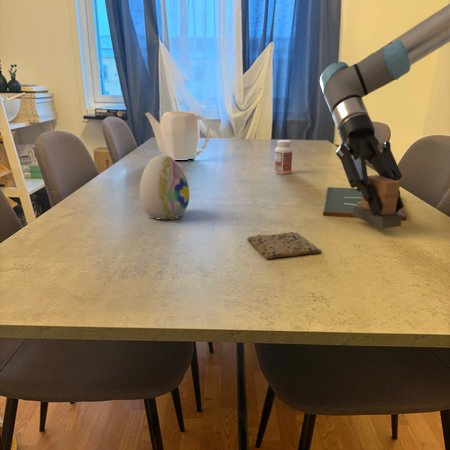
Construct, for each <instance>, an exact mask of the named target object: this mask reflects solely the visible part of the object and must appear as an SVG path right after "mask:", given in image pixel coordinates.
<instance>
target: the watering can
mask: <svg viewBox="0 0 450 450" xmlns="http://www.w3.org/2000/svg"><path fill="white" fill-rule="evenodd" d="M144 115H145V116H146V117H147V119H148V121H149V123H150V125H151V128H152V131H153V134H154V138H155V142H156V144H157V147H158V150H159V151H160V152H161V153H163V154H164V155H167V156H170V157H171V158H173V159H194V158H195V159H196V158H197V157H198V156H199V155H201V154H202V153H203V152H204V151H205V150H206V149H207V147H208V145H209V142H210V138H211V137H210V135H211V134H210V127H209V124H208V121H207V119H206V118H205V117H204V116H203V115H201V114H200V113H198V114H196V113H195V112H194V111H188V110H181V111H180V110H178V111H177V110H175V111H166V112H163V114H162V116H161V120H160V123H159V121H158V120H157V119H156V118H155V117H154V115H153V114H151V113H150V111H147V112H144ZM200 120H202V122H203V123H204V125H205V129H206V136H205V140H204V144H203V145H202V147H201V149H199V144H200V135H201V134H200V133H201V131H200V130H201V129H200V124H199V121H200ZM195 159H194V160H195Z"/></svg>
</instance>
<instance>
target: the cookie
mask: <svg viewBox="0 0 450 450" xmlns="http://www.w3.org/2000/svg"><path fill="white" fill-rule="evenodd" d="M246 238H247V239H246V240H247V242H248V243H249V244H250V245H251V246H252V247H253V248H254V249H255V250H256V251H257V252H259V253H260V255H261V256H263V258H264V259H266V260H271V259H276V258H280V257H295V256H303V255H308V254H322V253H323V252H322V249H320V247H318V246H316V245H315V244H314V243H312V242H311V241H309V240H307V239H306V238H305V237H303V236H302V235H301V234H299V233H298V232H293V231H290V232H281V233H275V234H273V233H272V234H257V235H253V236H248V237H246Z"/></svg>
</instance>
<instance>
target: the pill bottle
mask: <svg viewBox="0 0 450 450" xmlns="http://www.w3.org/2000/svg"><path fill="white" fill-rule="evenodd" d="M291 144H292V142H291V140H290V139H279V140H277V146H276V148H275V149H274V168H273V169H274V173H275V174H277V175H278V174H280V175H284V174H285V175H286V174H291V172H292V165H293V164H292V162H293V148H292V147H291Z"/></svg>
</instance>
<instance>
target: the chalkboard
mask: <svg viewBox="0 0 450 450" xmlns="http://www.w3.org/2000/svg"><path fill="white" fill-rule="evenodd" d="M356 189H357V188H356V187H355V188H352V187H334V186H333V187H331V186H330V187H329V186H327V187H326V193H325V199H324V203H323V210H322V216H327V217H343V218H355V217H354V216H352V215H353V207H354V205H360V204H361V197H362V192H361V191H360V192H358V191H357V190H356ZM397 213H398V214H400V215H402V221H407V215H406V212H405V210H404V207H403V208H402V209H400V210H399V211H398V212H397Z"/></svg>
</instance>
